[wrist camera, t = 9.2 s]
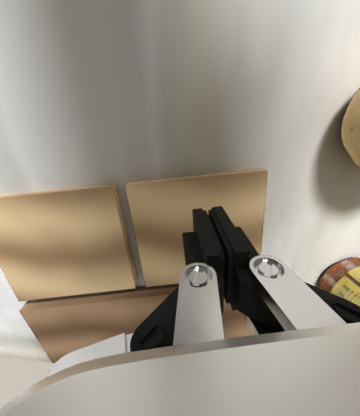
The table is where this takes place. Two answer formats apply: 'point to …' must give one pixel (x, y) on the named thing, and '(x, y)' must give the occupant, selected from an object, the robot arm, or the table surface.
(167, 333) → the robot arm
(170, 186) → the oak plank
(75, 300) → the walnut board
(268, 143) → the table surface
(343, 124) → the onion
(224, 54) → the table surface
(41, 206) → the oak plank
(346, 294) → the sauce bottle
